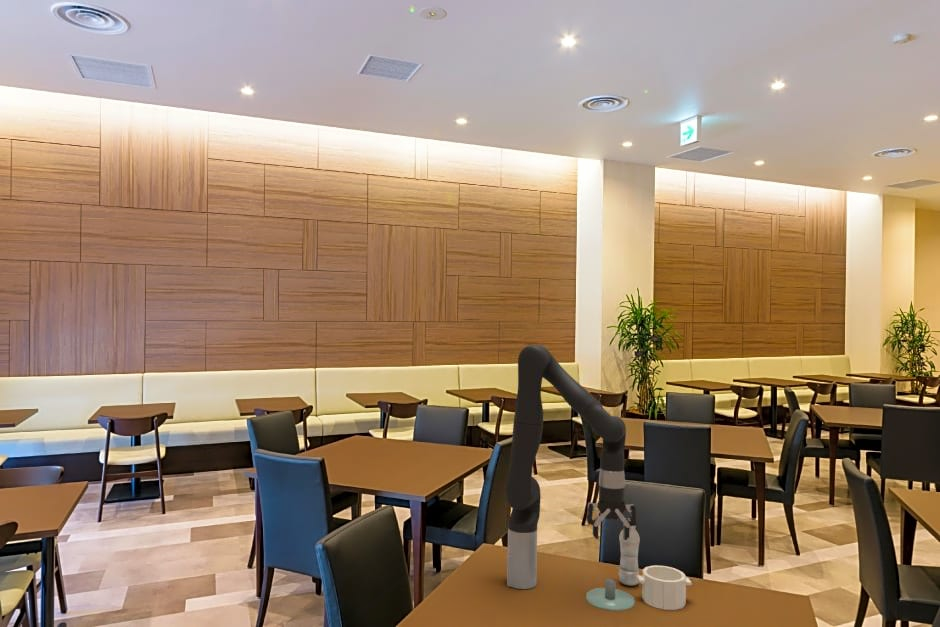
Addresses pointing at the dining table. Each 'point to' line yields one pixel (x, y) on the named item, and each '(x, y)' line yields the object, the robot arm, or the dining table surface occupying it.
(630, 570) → the plastic bottle
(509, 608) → the dining table surface
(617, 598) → the lid
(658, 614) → the dining table surface
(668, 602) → the pot
